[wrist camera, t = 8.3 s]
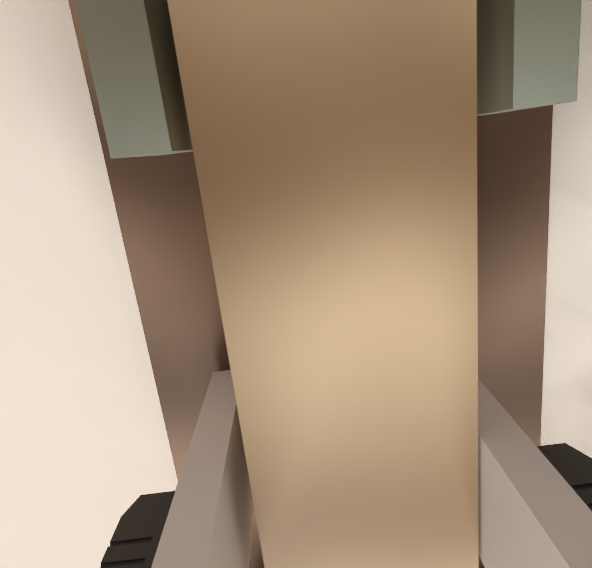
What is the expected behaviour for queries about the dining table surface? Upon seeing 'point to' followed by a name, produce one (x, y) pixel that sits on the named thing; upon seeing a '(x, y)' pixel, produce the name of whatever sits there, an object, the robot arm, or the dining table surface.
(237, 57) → the slat
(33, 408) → the dining table surface
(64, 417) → the dining table surface
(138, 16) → the cradle
